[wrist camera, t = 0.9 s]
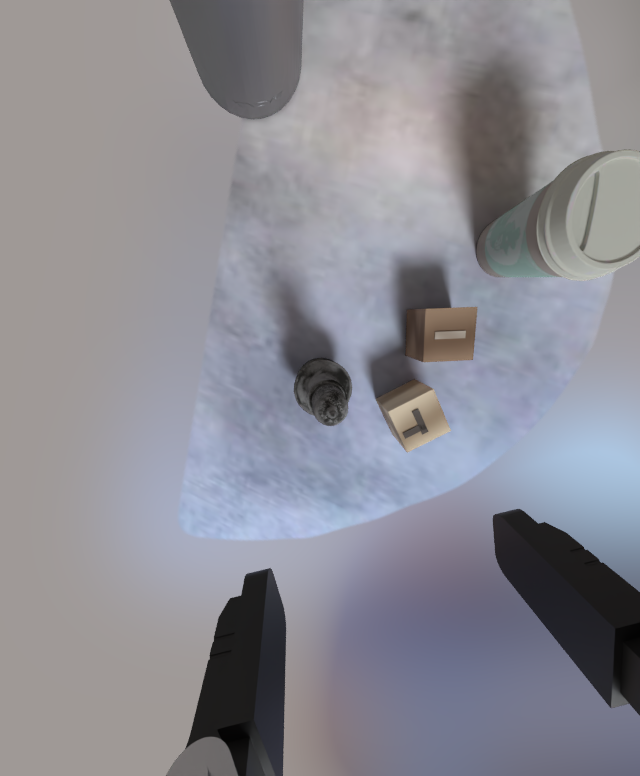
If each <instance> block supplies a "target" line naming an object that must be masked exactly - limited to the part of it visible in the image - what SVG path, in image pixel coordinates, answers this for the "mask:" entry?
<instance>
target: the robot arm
mask: <svg viewBox="0 0 640 776" xmlns="http://www.w3.org/2000/svg"><path fill="white" fill-rule="evenodd" d="M170 2H171V5H172V7H173V10H174V12H175V15H176V17H177V20H178V22H179V25H180V27H181V30H182V33H183V35H184V38H185V41H186V43H187V46H188V48H189V51H190V53H191V56H192V58H193V61H194V63H195V66H196V68H197V71H198V73H199V76H200V78H201V80H202V83H203V85H204V87H205V88H206V90H207V91H208V93H209V94H210V96H211V97H212V98H213V99H214V100H215V101H216V102H217V103H218V104H219V105H220V106H221V107H222V108H224V109H225V110H227V111H228V112H229V113H232V114H234V115H236V116H239V117H242V118H247V119H261V118H265V117H268V116H271V115H273V114H275V113H276V112H278V111H279V110H281V109H282V108H283V107H284V106H285V105H286V104H287V103H288V102H289V100H290V99H291V97H292V95H293V94H294V92H295V90H296V87H297V84H298V82H299V78H300V71H301V58H302V29H303V0H170ZM493 529H494V543H495V555H496V558H497V562H498V564H499V566H500V568H501V570H502V572H503V574H504V575H505V576H506V578H507V579H508V580H509V582H510V583H511V584H512V585H513V586H514V588H515V589H516V590H517V592H518V593H519V594H520V595H521V597H522V598H523V599H524V600H525V602H526V603H527V604H528V605H529V607H530V608H531V609H532V610H533V612H534V613H535V614H536V615H537V616H538V618H539V619H540V620H541V622H542V623H543V624H544V625H545V627H546V628H547V629H548V630H549V631H550V633H551V634H552V635H553V636H554V638H555V639H556V640H557V641H558V643H559V644H560V645H561V647H562V648H563V649H564V650H565V651H566V653H567V654H568V655H569V657H570V658H571V659H572V660H573V661H574V663H575V664H576V665H577V666H578V668H579V669H580V670H581V671H582V673H583V674H584V675H585V676H586V678H587V679H588V680H589V681H590V683H591V684H592V685H593V686H594V688H595V689H596V690H597V691H598V693H599V694H600V695H601V696H602V698H603V699H604V700H605V701H606V703H607V704H608V705H609V706H610V708H615V707H618V706H622V705H626V704H630V705H631V706H632V707H633V708H634V709H635V711H636V712H637V713H638V714H639V715H640V592H638V591H637V590H636V589H635V588H634V587H633V586H631V585H630V584H629V583H628V582H626V581H625V580H624V579H623V578H621V577H620V576H619V575H618V574H616V573H615V572H614V571H613V570H612V569H610V568H609V567H608V566H607V565H605V564H604V563H601V562H600V561H599V559H598V558H597V557H595V556H594V555H593V554H592V553H591V552H589V551H588V550H585V549H584V547H583V546H582V545H580V544H579V543H578V542H577V541H576V540H574V539H573V538H572V537H571V536H570V535H568V534H567V533H566V532H564V531H562V530H560V529H557V528H555V527H553V526H551V525H549V524H547V523H545V522H544V523H539V524H538V523H537V522H536V521H534V520H533V519H532V518H531V517H530V516H529V515H527V514H526V513H525V512H524V511H522V510H520V509H516V510H511V511H507V512H503V513H499V514H495V515H494V516H493ZM285 621H286V620H285V612H284V607H283V604H282V600H281V597H280V594H279V591H278V587H277V584H276V581H275V578H274V574H273V571H272V569H270V568H269V569H265V570H261V571H257V572H253V573H249V574H246V576H245V579H244V585H243V590H242V595H241V596H238V597H234V598H230V600H229V601H228V603H227V604H226V606H225V608H224V610H223V611H222V613H221V615H220V616H219V619H218V623H217V627H216V631H215V636H214V642H213V644H212V648H211V652H210V660H209V661H208V664H207V668H206V672H205V676H204V680H203V685H202V689H201V693H200V697H199V701H198V705H197V709H196V714H195V717H194V722H193V726H192V730H191V734H190V737H189V741H188V743H187V746H186V748H185V750H184V751H183V752H182V753H181V754H180V755H179V757H178V758H177V759H176V760H175V762H174V763H173V765H172V766H171V768H170V769H169V771H168V773H167V775H166V776H283V744H284V743H283V742H284V699H285V698H284V697H285V655H286V622H285Z"/></svg>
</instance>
